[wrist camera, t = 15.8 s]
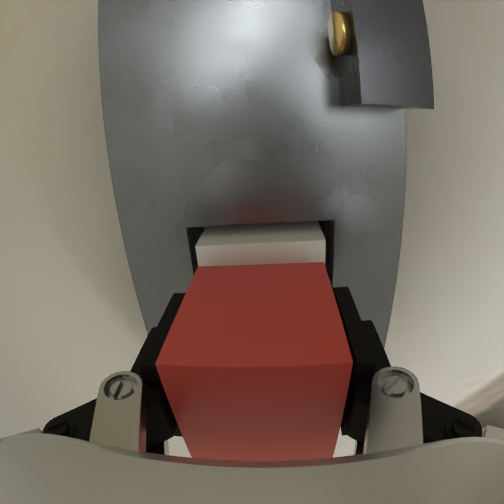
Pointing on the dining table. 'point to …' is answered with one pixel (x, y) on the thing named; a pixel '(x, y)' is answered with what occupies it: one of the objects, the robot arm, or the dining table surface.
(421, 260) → the dining table surface
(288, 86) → the panel
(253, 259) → the button
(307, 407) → the red block
